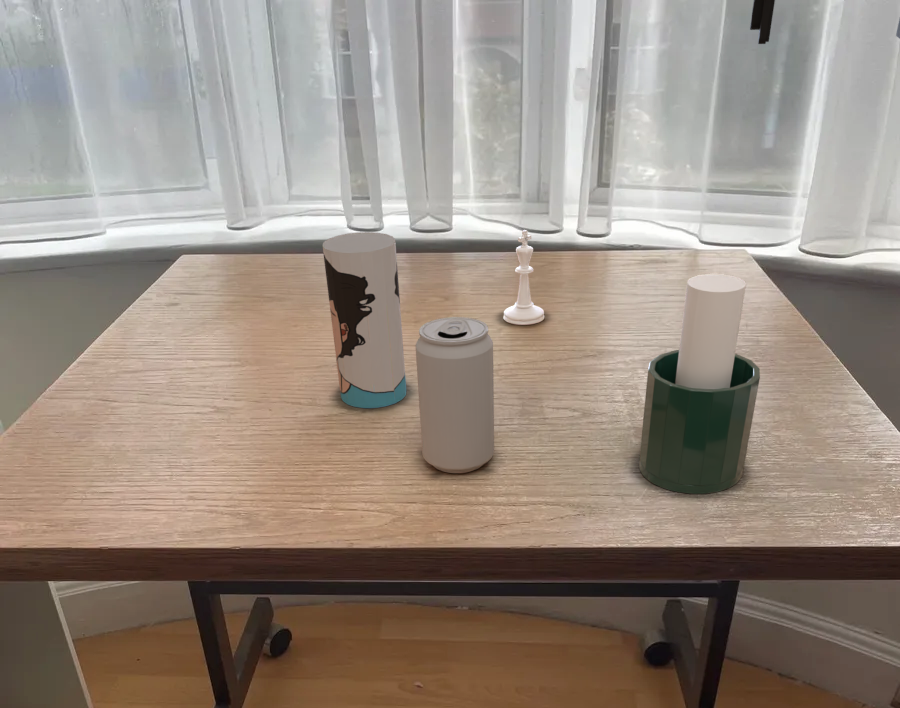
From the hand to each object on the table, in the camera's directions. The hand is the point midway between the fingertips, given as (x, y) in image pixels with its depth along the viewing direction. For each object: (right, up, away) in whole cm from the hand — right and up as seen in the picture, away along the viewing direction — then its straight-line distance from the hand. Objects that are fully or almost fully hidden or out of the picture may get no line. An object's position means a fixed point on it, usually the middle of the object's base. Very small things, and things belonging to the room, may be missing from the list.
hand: (832, 40), depth 65 cm
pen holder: (-7, -29, +12) cm, 32 cm away
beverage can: (-27, -28, +15) cm, 42 cm away
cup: (-36, -20, +27) cm, 49 cm away
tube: (-7, -29, +12) cm, 32 cm away
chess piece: (-19, -7, +43) cm, 47 cm away
